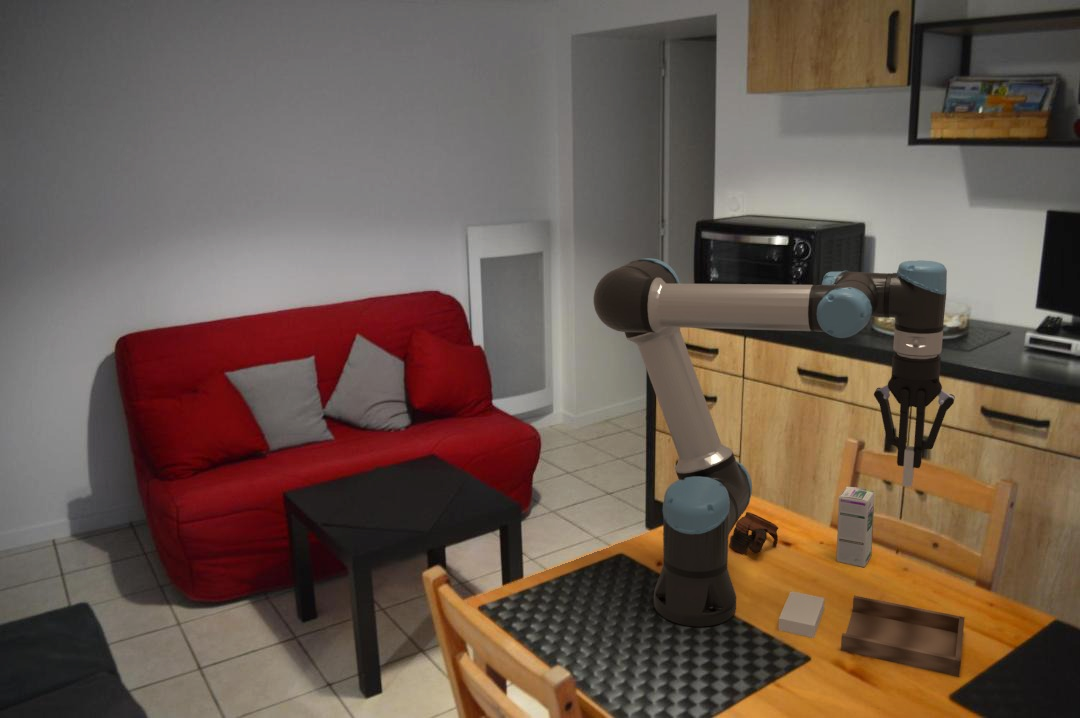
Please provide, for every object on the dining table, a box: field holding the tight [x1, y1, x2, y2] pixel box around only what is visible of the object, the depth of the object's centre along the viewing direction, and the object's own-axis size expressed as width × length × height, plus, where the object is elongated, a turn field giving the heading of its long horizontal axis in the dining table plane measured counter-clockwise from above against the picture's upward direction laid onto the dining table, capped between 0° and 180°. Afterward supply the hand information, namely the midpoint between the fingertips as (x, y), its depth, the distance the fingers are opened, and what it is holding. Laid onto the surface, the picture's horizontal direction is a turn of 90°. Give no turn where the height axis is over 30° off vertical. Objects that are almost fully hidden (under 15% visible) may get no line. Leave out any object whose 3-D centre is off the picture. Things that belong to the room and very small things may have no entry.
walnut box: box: [840, 595, 965, 678], centre depth 151 cm, size 18×14×4 cm
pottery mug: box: [728, 511, 779, 556], centre depth 187 cm, size 12×10×8 cm
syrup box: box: [836, 486, 875, 568], centre depth 180 cm, size 6×6×14 cm
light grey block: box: [778, 591, 826, 639], centre depth 158 cm, size 6×10×3 cm, turn 153°
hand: (907, 483), depth 157 cm, fingers closed
